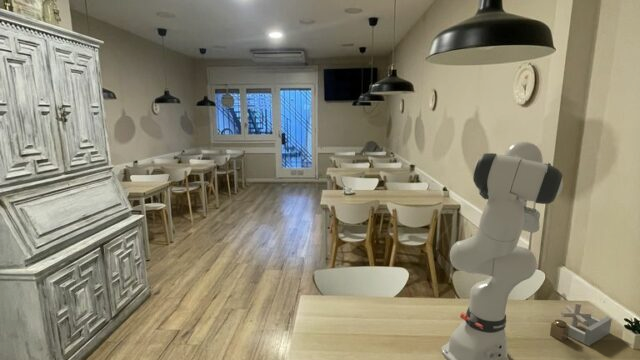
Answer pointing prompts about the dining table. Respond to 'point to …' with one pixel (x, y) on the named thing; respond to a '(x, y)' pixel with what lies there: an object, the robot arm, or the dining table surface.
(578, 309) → the beige crossed rod piece
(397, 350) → the dining table surface
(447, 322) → the dining table surface
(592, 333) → the socket cradle
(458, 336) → the robot arm
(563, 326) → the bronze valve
